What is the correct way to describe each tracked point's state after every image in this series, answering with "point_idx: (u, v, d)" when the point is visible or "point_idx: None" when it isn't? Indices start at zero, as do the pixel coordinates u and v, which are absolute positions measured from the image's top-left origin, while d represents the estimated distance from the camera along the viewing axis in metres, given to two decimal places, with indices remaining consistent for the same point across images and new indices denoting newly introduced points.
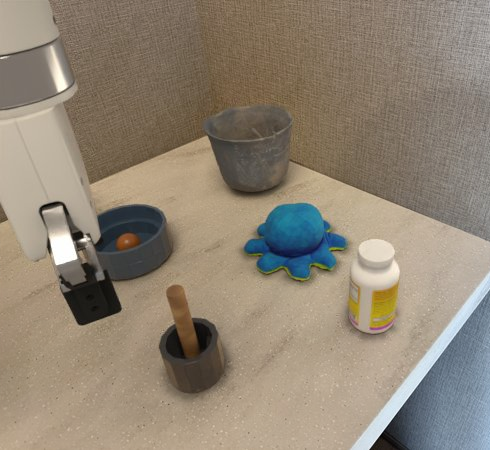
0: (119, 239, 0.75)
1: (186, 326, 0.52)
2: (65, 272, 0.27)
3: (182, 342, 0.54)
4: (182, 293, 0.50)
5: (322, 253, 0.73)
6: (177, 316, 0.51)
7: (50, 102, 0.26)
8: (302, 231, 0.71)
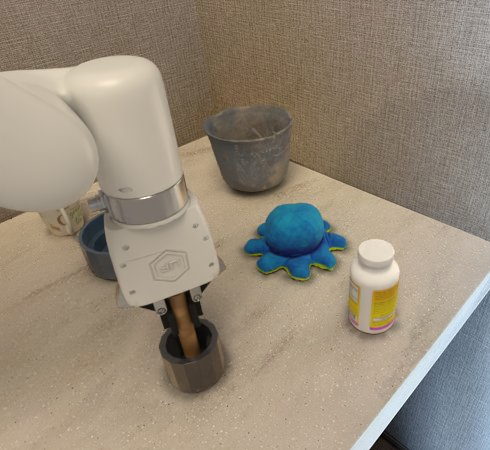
0: None
1: (186, 326, 0.52)
2: None
3: (182, 342, 0.54)
4: (182, 293, 0.50)
5: (322, 253, 0.73)
6: (177, 316, 0.51)
7: None
8: (302, 231, 0.71)
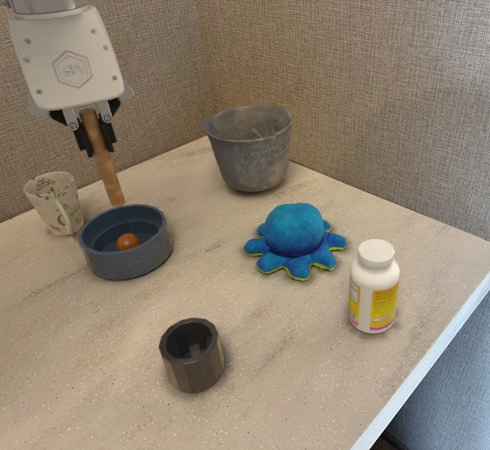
0: (119, 239, 0.75)
1: (100, 150, 0.58)
2: None
3: (99, 169, 0.60)
4: (93, 112, 0.55)
5: (322, 253, 0.73)
6: (91, 137, 0.57)
7: None
8: (302, 231, 0.71)
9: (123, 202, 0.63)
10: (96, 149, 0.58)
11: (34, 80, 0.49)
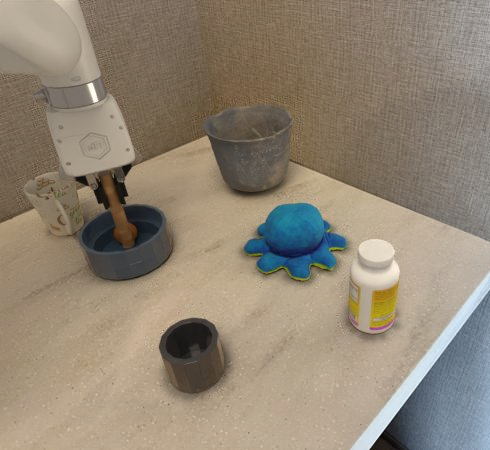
0: None
1: (115, 203, 0.71)
2: None
3: (114, 218, 0.72)
4: (109, 174, 0.69)
5: (322, 253, 0.73)
6: (107, 193, 0.70)
7: None
8: (302, 231, 0.71)
9: (133, 244, 0.76)
10: (111, 202, 0.71)
11: (65, 155, 0.62)
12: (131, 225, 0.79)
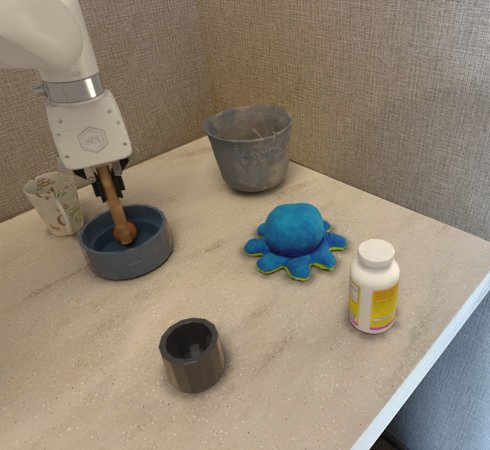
0: None
1: (112, 196, 0.72)
2: None
3: (111, 212, 0.74)
4: (106, 166, 0.71)
5: (322, 253, 0.73)
6: (104, 186, 0.71)
7: None
8: (302, 231, 0.71)
9: (131, 240, 0.77)
10: (109, 195, 0.72)
11: (63, 149, 0.64)
12: (130, 224, 0.79)
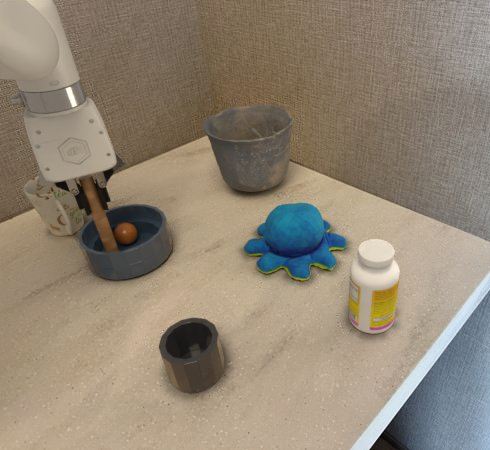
0: None
1: (97, 208, 0.69)
2: None
3: (96, 225, 0.71)
4: (90, 178, 0.68)
5: (322, 253, 0.73)
6: (88, 198, 0.68)
7: None
8: (302, 231, 0.71)
9: None
10: (93, 208, 0.69)
11: (43, 161, 0.61)
12: (132, 227, 0.78)
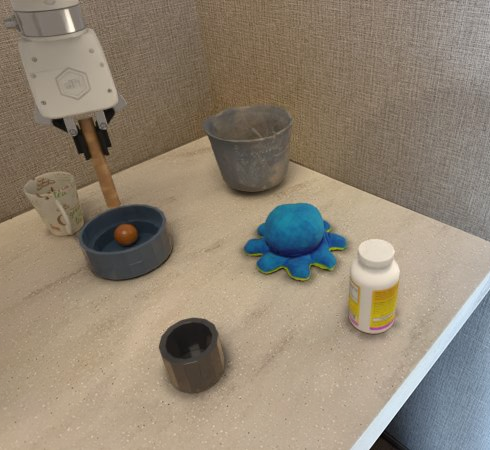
0: None
1: (97, 153, 0.65)
2: None
3: (96, 172, 0.66)
4: (90, 119, 0.63)
5: (322, 253, 0.73)
6: (88, 141, 0.64)
7: None
8: (302, 231, 0.71)
9: (118, 204, 0.69)
10: (93, 152, 0.65)
11: (39, 93, 0.57)
12: (132, 229, 0.78)
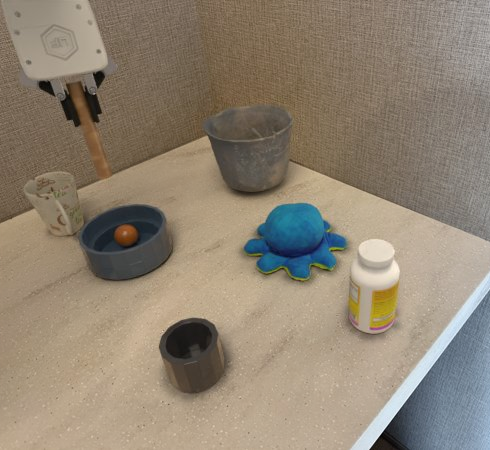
0: None
1: (86, 119, 0.62)
2: (114, 70, 0.62)
3: (86, 140, 0.63)
4: (78, 82, 0.60)
5: (322, 253, 0.73)
6: (77, 106, 0.61)
7: None
8: (302, 231, 0.71)
9: (109, 175, 0.66)
10: (82, 119, 0.62)
11: (24, 51, 0.54)
12: (133, 231, 0.78)
